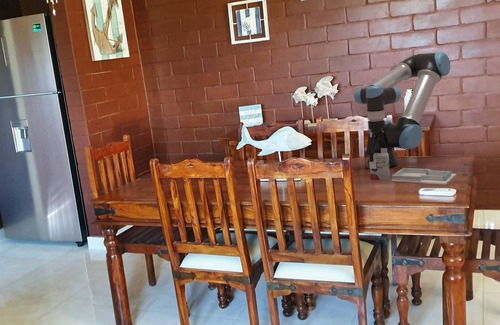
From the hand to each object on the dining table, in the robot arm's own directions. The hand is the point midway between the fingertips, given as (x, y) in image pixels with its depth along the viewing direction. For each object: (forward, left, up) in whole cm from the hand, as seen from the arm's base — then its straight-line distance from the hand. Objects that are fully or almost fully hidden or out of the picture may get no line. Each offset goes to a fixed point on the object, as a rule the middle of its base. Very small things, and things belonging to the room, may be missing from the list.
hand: (378, 165), depth 236 cm
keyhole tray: (-4, +19, -7) cm, 21 cm away
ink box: (0, 0, -7) cm, 7 cm away
